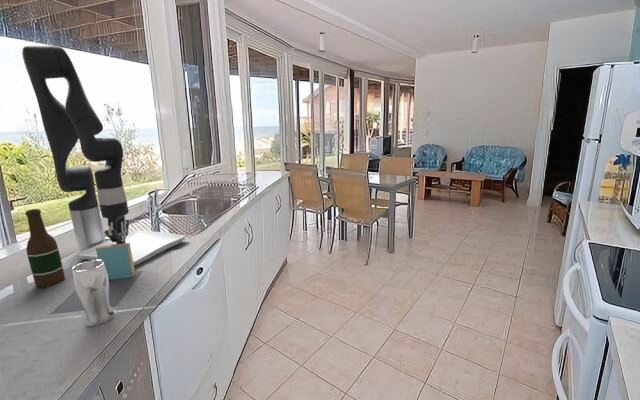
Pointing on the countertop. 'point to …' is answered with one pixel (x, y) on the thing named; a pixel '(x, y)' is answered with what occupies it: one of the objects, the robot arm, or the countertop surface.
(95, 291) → the beer glass
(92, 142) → the robot arm
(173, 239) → the square plate
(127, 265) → the tile
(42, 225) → the beer bottle
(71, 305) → the mat
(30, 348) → the countertop surface
